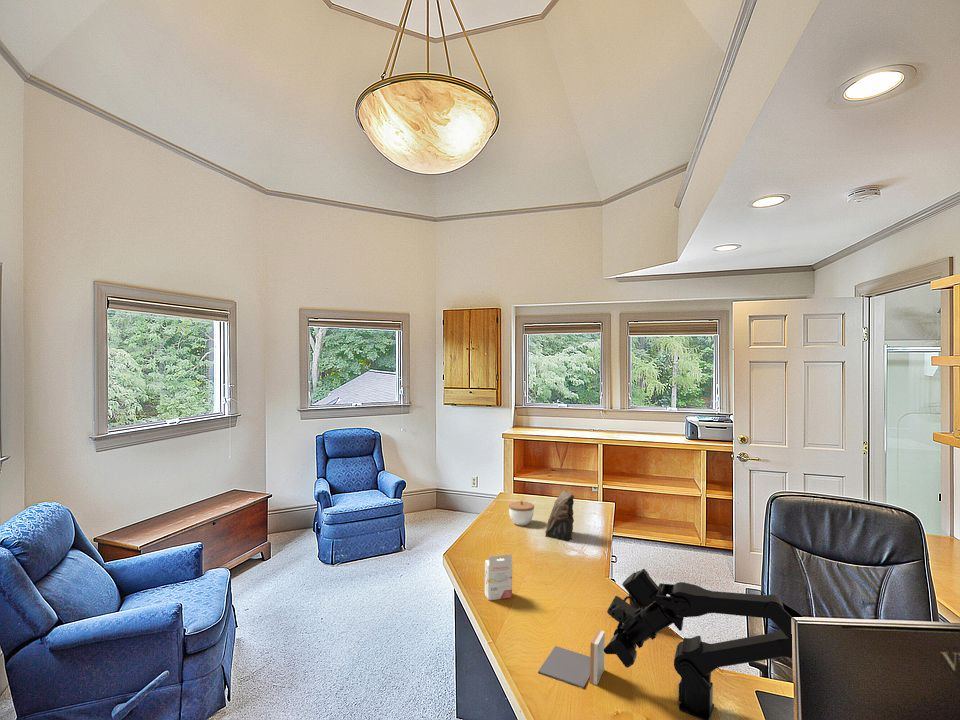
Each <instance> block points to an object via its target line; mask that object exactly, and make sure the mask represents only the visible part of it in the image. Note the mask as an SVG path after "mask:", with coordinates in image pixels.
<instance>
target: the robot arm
mask: <svg viewBox="0 0 960 720" xmlns="http://www.w3.org/2000/svg"><path fill="white" fill-rule="evenodd" d="M621 585H622V587H623V589H624V590H626V593H628V595H629V594H630V595H631V597H632V598H633V599H634V600H635V602H636V603H637V604H638V605H640V606H641V607H642V606H647V605H649V604H650V603H652V602H653V601H654V600H655V602H653V603H652V604H650V605H649V606H648V607H646V608H645V609H643V608H638V609H637V610H636V608H633V607H632V606H631V605H630V603H628V602H627V601H624V599H623V598H622V597H620V596H618V595H615V596H614V597H613V599H612V601H611V603H610V604H609V607H608V608H607V610H606V613H607V614H608V615H609V616H610V617H611V618H612V619H614V620H615V621H616V622H617V623H618V624H617V626H616V629H614V632H613V636H612V637H611V639H610V641H609V642H608V643H607V644H606V646H605V648H604V655H616V657H618V659H619V661H620V662H621V663H622V665H624V667H625V668H627V669H628V668H630V667H631V666H633V665H634V664H635V662H636V659H637V654H638V653H637V652H638V651H637V650H636V649H637V647H638V648H639V649H640V648H643V645H644V643H645V642H646V641H648V640H651V641H653V640H655V639H656V637H657V635H658V634H659V633H660V632H661V631H663V630H665V629H666V628H668V627H670V626H671V625H674V626H675V627H676V628H677V630H678V631H680V632H681V631H682V630H683V626H684V620H685V618H693V617H694V618H695V617H701V616H705V615H707V614H718V615H719V614H720V615H721V614H722V615H730V616H738V617H739V616H741V617H749V618H750V617H751V618H761V619H770V620H771V621H772V622H773V623H774V624H775V625H776V626H777V627H778V628H779V629H777V630H776V631H774V632H770V633H765V634H759V635H753V636H747V637H742V638H737V639H731V640H725V641H719V642H715V643H714V642H713V643H708V642H705V641H703V640H702V637H701V635H696V636H693V637H683V639H682V641H680V642H679V643H678V644H677V645H676V649H675V654H674V657H673V658H674V659H673V668H674V670H675V671H676V673H677V674H678V675H679V676H680V677H681V679H680V681H679V683H678V699H677V700H678V702H679V705H678V709H679V711H682V712H685V713H687V714H688V715H689V714H690V715H692V716H695V717H697V718H699V719H700V720H710V719H711V717H712V713H713V711H714V708H715V704H714V703H713V701H714V700H713V698H714V697H713V696H714V692H713V691H714V688H713V687H714V683H713V682H712V679H711V678H712V672H714V671H715V670H716V669H718V668H723V667H729V666H730V667H731V666H735V665H742V664H748V663H755V662H759V661H761V662H762V661H767V660H773V659H778V658H788V659H791V660H793V659H792V634H791V618H792V617H804V615H802V614H801V613H800V612H799V611H798V610H796V609H795V608H794V607H792V606H790V605H788V604H787V603H785V602H784V601H783V600H782V599H781V598H780V597H779V596H777V595H775V594H765V595H764V594H755V593H754V594H753V593H742V592H741V593H740V592H730V591H727V592H726V591H715V590H714V591H713V590H710V589H705V588H703V587H702V586H699V585H697V584H691V583H689V582H685V581H684V582H683V581H681V582H677V583H675V584H674V583H673V584H671V583H661V582H659V583H658V584H657V583H656V582H655V581H654V580H653V578H651V576H650V574H649V573H648V571H647V570H646V569H645V568H642V569H641V570H638V571H635V572H633V573H631V574H630V575H628V577H627V578H626V579H624V580H623V582H622V584H621ZM668 595H669V596H668Z"/></svg>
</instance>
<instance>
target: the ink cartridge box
mask: <svg viewBox="0 0 960 720" xmlns="http://www.w3.org/2000/svg"><path fill="white" fill-rule="evenodd" d="M512 558H513V556H512V554H509V553H508V554H499V555H490V556H489V557H488V559H486V560H484V595H485V597H486V599H487V600H488V601H494V600H503V599H511V598H513V563H512V562H513V560H512Z"/></svg>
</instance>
